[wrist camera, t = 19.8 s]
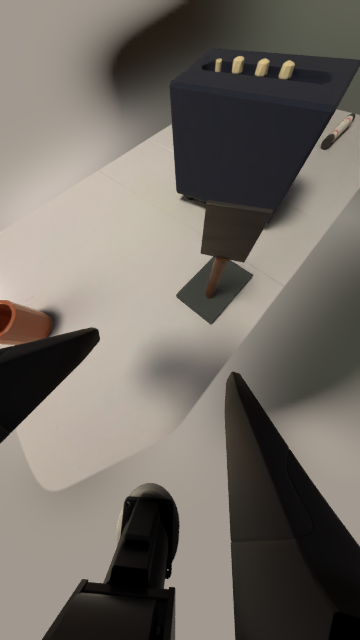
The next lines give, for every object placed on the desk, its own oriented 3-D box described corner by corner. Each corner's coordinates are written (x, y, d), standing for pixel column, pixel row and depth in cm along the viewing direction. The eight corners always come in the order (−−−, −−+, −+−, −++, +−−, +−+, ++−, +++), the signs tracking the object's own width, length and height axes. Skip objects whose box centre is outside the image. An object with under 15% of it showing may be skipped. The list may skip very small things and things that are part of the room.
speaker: (285, 193, 30) (371, 45, 16) (263, 231, 28) (346, 93, 13) (202, 169, 35) (212, 35, 20) (176, 200, 32) (167, 70, 18)
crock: (46, 346, 23) (4, 342, 18) (13, 346, 24) (-38, 342, 18) (56, 312, 25) (21, 299, 20) (25, 312, 25) (-17, 300, 20)
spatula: (222, 302, 23) (271, 218, 9) (195, 295, 23) (204, 208, 10) (224, 294, 23) (274, 204, 10) (197, 288, 24) (209, 194, 10)
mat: (210, 324, 23) (211, 323, 22) (176, 297, 24) (176, 294, 24) (250, 278, 25) (253, 274, 24) (216, 256, 27) (217, 252, 26)
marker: (326, 150, 34) (334, 137, 32) (318, 147, 34) (326, 135, 33) (353, 123, 37) (362, 110, 35) (345, 121, 37) (354, 108, 35)
